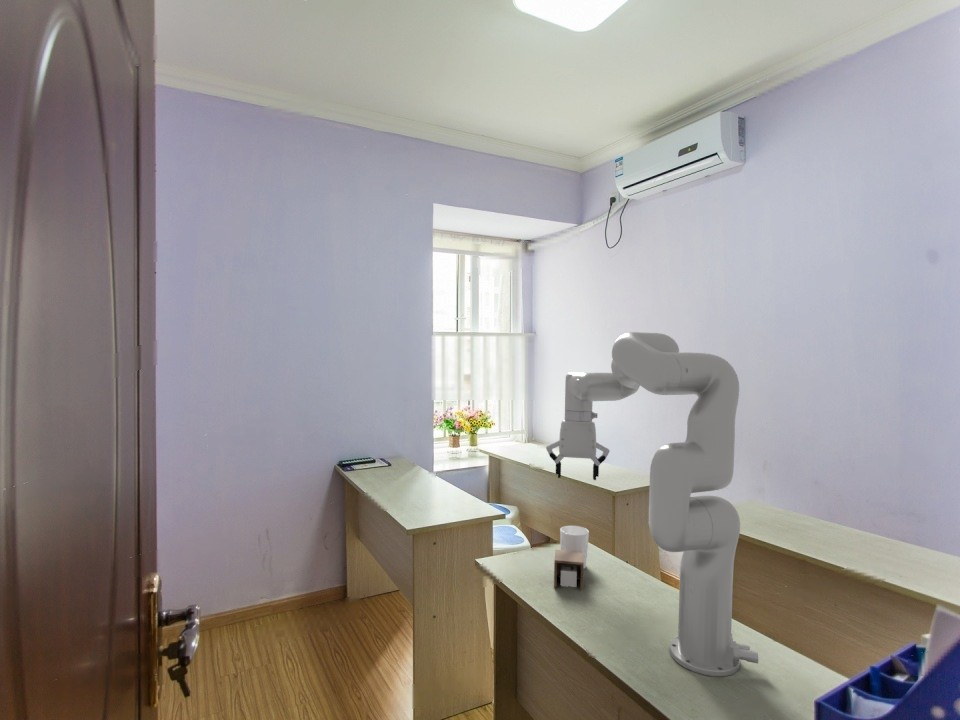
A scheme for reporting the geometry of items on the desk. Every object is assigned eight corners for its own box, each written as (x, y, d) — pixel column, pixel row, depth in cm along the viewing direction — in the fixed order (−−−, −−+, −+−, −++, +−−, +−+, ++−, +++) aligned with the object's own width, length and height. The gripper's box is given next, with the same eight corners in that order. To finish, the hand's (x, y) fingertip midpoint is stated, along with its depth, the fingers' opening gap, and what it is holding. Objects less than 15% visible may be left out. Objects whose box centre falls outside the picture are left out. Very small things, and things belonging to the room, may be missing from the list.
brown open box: (582, 578, 139) (582, 551, 139) (583, 590, 132) (583, 562, 132) (554, 575, 140) (555, 549, 140) (553, 587, 133) (554, 560, 133)
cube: (576, 580, 138) (576, 565, 138) (576, 587, 134) (576, 571, 134) (560, 579, 138) (561, 564, 138) (560, 586, 134) (560, 570, 134)
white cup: (590, 571, 143) (591, 535, 143) (561, 571, 143) (562, 534, 143) (584, 560, 151) (585, 525, 151) (557, 560, 151) (557, 525, 151)
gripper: (609, 416, 149) (607, 476, 149) (547, 413, 152) (546, 473, 152) (611, 419, 142) (609, 483, 142) (546, 417, 145) (544, 479, 145)
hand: (576, 477), depth 147 cm, fingers open, 9 cm apart
